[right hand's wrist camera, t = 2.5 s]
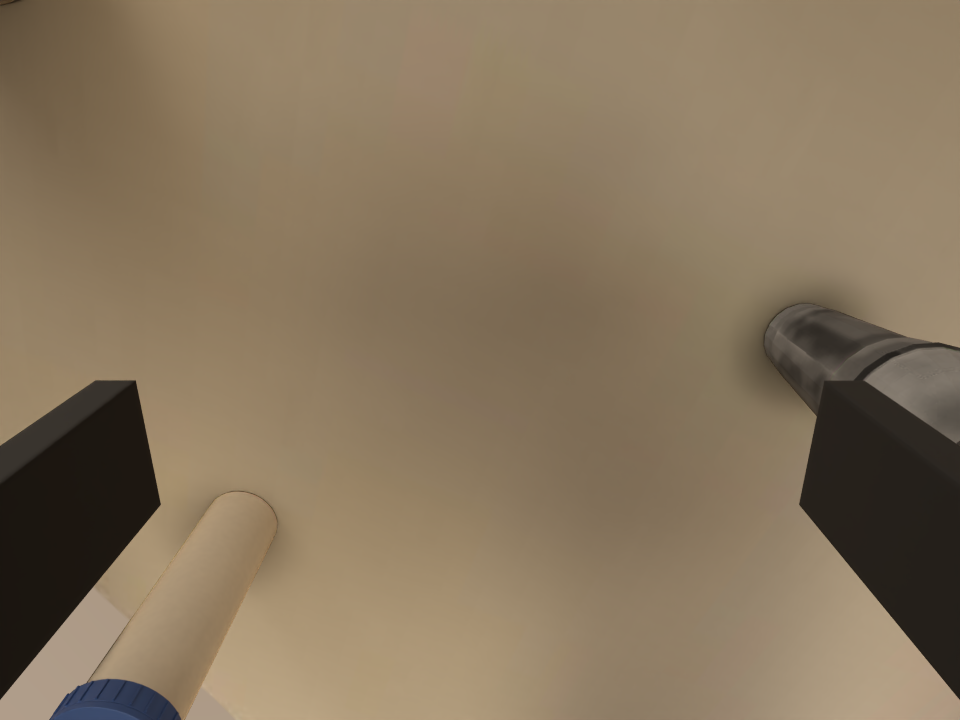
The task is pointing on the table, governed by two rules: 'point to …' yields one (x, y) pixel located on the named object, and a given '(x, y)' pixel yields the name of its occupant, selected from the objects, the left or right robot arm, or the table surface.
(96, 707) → the lid
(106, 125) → the table surface
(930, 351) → the beverage cup
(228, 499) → the jar
